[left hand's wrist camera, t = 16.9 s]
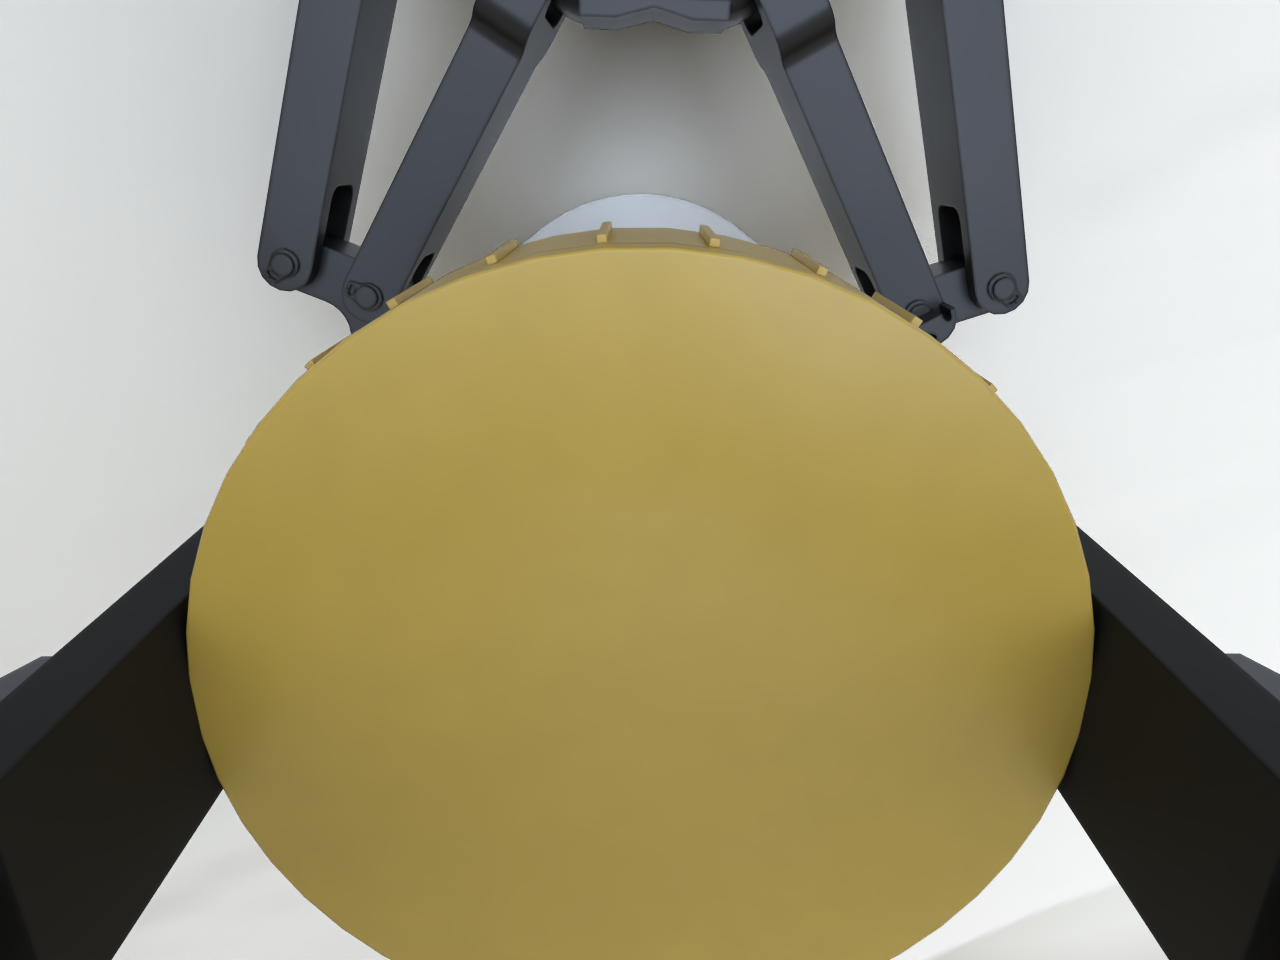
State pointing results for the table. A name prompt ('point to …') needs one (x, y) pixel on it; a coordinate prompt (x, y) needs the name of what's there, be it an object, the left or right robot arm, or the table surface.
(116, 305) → the table surface
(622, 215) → the jar
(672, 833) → the lid
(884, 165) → the right robot arm
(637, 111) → the table surface
